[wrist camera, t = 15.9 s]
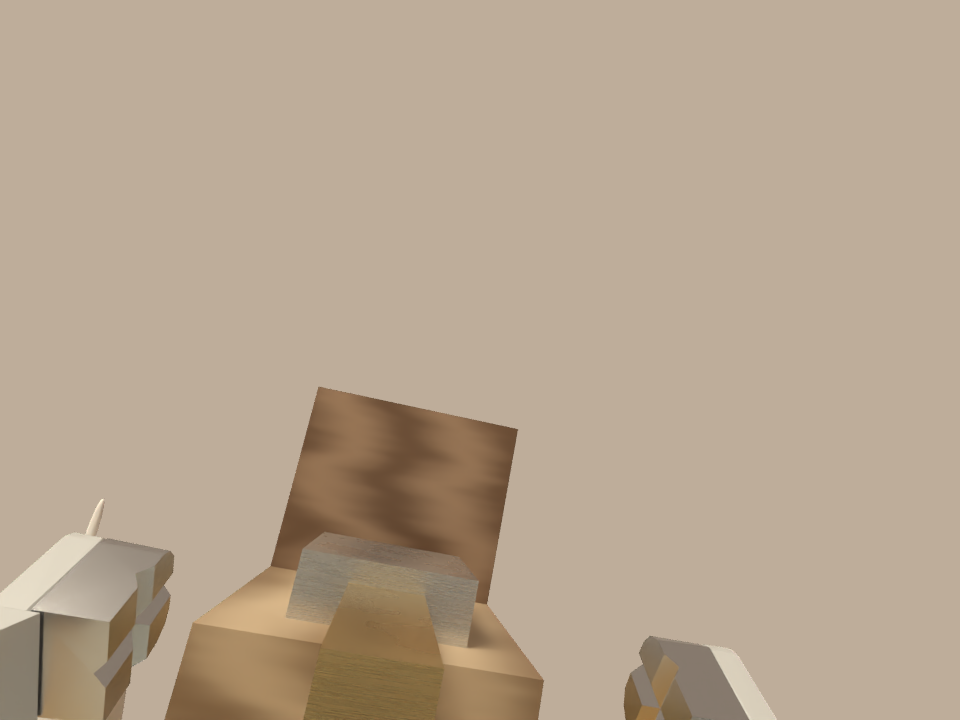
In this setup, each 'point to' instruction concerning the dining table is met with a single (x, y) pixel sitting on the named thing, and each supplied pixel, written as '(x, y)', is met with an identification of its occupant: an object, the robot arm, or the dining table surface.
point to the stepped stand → (377, 517)
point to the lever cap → (380, 625)
